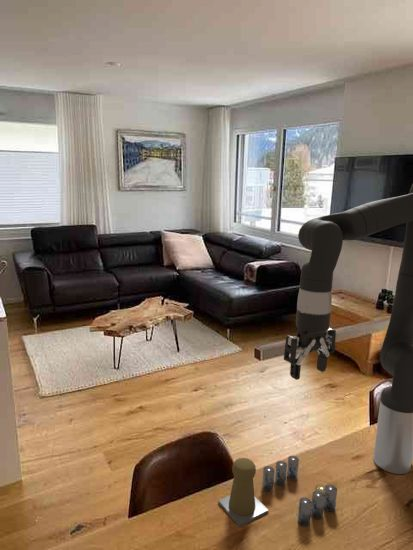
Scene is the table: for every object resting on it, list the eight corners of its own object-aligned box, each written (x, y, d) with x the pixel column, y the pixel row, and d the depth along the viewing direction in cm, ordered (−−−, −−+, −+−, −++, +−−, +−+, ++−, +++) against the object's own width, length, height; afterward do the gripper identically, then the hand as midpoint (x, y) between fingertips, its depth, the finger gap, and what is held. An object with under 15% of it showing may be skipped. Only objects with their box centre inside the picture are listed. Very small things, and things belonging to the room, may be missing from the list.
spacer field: (292, 471, 106) (293, 454, 105) (337, 509, 94) (339, 490, 93) (260, 486, 100) (261, 468, 99) (303, 528, 88) (305, 508, 87)
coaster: (246, 490, 99) (246, 488, 99) (268, 512, 92) (268, 510, 92) (218, 502, 95) (218, 500, 94) (239, 526, 88) (239, 524, 88)
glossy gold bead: (318, 486, 101) (318, 481, 101) (330, 491, 99) (330, 487, 99) (313, 493, 99) (313, 488, 99) (325, 498, 97) (325, 494, 97)
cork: (253, 518, 90) (256, 473, 87) (226, 512, 91) (228, 468, 89) (256, 498, 95) (259, 456, 93) (231, 493, 97) (233, 451, 94)
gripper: (323, 300, 101) (317, 362, 104) (279, 308, 94) (274, 374, 97) (348, 308, 95) (341, 374, 98) (303, 317, 87) (297, 387, 91)
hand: (308, 374), depth 98 cm, fingers open, 8 cm apart
